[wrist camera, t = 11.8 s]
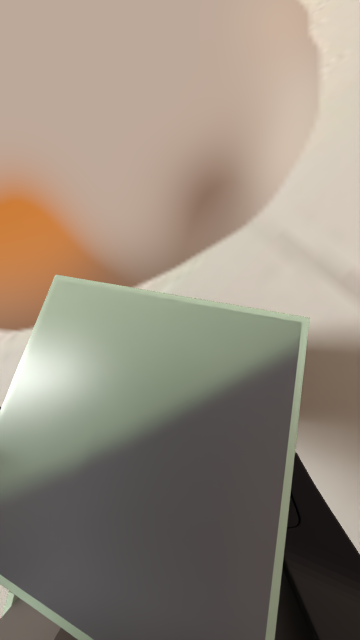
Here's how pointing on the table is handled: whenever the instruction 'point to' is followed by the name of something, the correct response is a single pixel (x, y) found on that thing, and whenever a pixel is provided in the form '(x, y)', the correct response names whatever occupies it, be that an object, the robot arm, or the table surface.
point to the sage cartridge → (150, 464)
